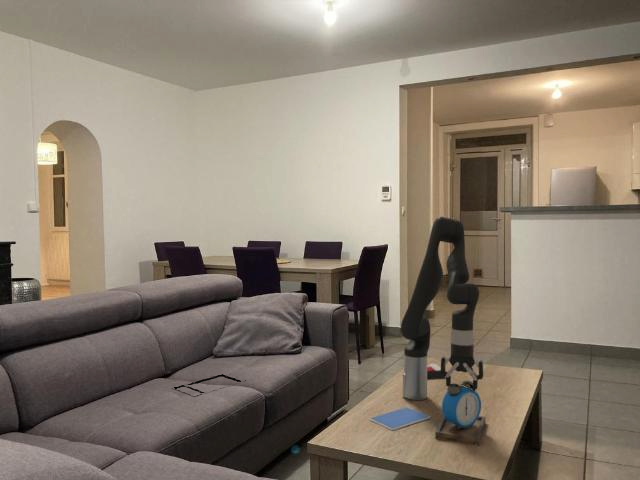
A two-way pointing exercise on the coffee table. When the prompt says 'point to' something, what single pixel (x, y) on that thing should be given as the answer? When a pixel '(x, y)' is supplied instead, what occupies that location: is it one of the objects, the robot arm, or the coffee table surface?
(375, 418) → the blue notebook
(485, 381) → the coffee table surface
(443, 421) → the tray
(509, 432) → the coffee table surface
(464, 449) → the coffee table surface
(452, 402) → the alarm clock
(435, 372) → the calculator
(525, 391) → the coffee table surface
